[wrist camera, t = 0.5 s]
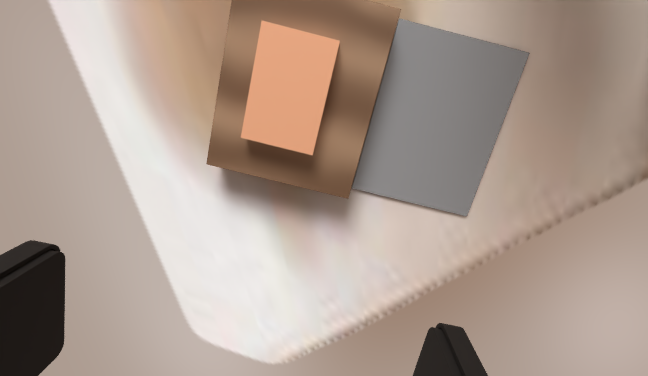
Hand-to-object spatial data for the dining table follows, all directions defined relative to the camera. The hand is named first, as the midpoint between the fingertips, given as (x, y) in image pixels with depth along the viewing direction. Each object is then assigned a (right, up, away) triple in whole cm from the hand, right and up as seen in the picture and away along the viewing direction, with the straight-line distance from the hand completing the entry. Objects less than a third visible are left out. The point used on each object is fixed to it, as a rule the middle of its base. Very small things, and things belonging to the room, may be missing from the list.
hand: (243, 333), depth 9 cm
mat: (+13, +10, +26) cm, 30 cm away
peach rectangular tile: (-1, +12, +21) cm, 24 cm away
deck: (0, +13, +25) cm, 28 cm away
